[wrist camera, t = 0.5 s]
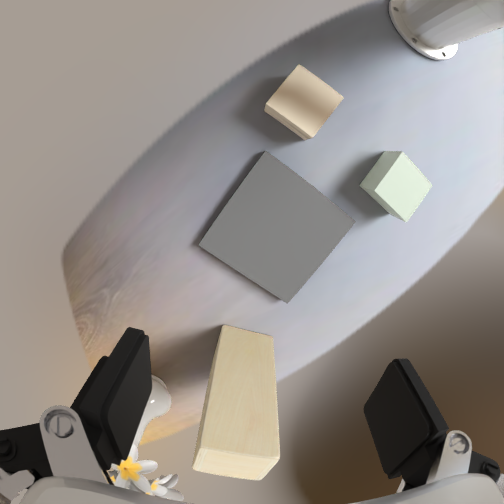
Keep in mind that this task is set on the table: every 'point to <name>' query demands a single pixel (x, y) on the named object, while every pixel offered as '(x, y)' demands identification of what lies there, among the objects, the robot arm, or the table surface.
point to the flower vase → (131, 469)
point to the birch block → (303, 103)
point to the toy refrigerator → (240, 408)
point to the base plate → (276, 228)
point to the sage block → (396, 184)
